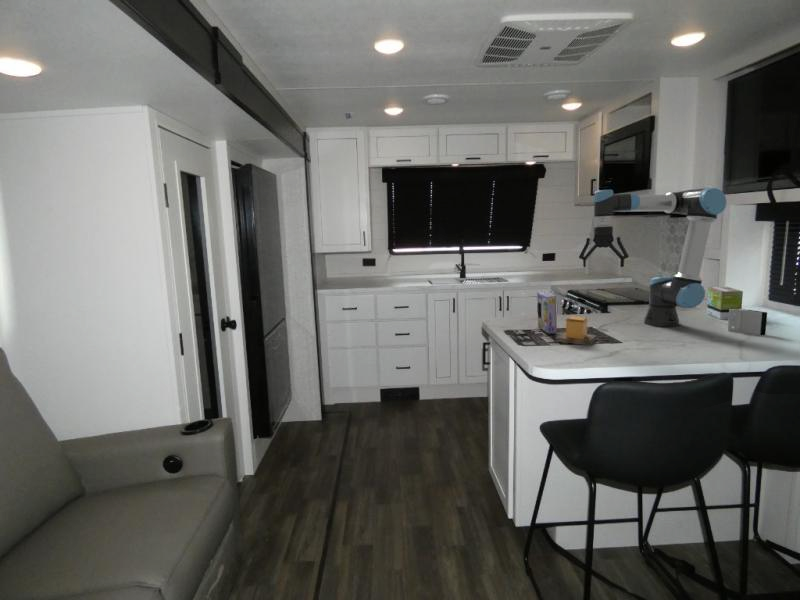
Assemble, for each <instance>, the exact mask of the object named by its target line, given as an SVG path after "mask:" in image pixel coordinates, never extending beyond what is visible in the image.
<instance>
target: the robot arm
mask: <svg viewBox="0 0 800 600" xmlns="http://www.w3.org/2000/svg"><path fill="white" fill-rule="evenodd" d="M593 198H594V199H593V203H594V204H593V207H594V212H593V213H594V214H593V215H594V216H593V218H594V219H593V221H594V224H593V225H594V226H595V227H594V229H593V230H594V231H593V234H594V235H593V237H587V238H586V242H585V244H584V246H583V248H582V250H581V252H580V254H579V256H578V259H580V260H583V262H582V264H583V266H582V267H583V268H585V276H587V275H588V276H589V275H590V266H589V265H590V262H589V261H590V260H589V259H588V258H589V257H590V256H591V254H593V252H594V251H595V250H596V249H597V248H599V249H601V248H602V249H603V248H604V249H606V248H607V249H608V248H610V249H611V250H612V251H613V252H614V254H615V255H616V256H617V258H619V259H618V262H617V263H618V273H617V275H618V276H621V275H622V268H624V267H625V260H626V259H628V258H629V257H630V256H629V254H628V252H627V250H626V248H625V246H624V244H623V242H622V237H621V236H617V237H614V227H613V225H614V216H613V215H614V213H616V212H620V213H621V212H664V213H666V214H677V215H685V216H686V219H687V220H688V221H689V222H688V226H687V231H686V236H685V239H684V244H683V248H682V252H681V257H680V261H679V267H678V271H677V272H676V273H675V274H674V275H673V276H666V277H665V276H663V277H652V278H651V279H650V282H649V298H648V299H649V303H648V309H647V312H646V314H645V316H644V321H643V322H644V324H646V325H650V326H656V327H677V326H679V325H680V318H679V315H678V312H677V307H679V308H683V309H695V308H696V307H697V306H700V305H701V304H702V303H703V301H704V300H705V299H704V298H705V295H706V290H705V288H704V286H703V285H702V281H703V279H702V278H701V277H700V274H701V270H702V267H703V261H704V257H705V252H706V249H707V248H706V247H707V244H708V239H709V235H710V230H711V226H712V224H713V223H714V222H715V221H717V218H718V215H720V214H721V213H722V212H724V210H725V209H726V208H727V197H726V195H725V194H724V191H722V190H721V189H720V188H717V187H703V188H697V189H695V188H694V189H687V190H681V191H677V192H667V193H666V194H637V192H636V193H634V192H632V193H631V192H629V193H627V192H626V193H615V194H614V190H613V189H602V190H596V191H595V192H594V197H593ZM614 241H615V243H617V244H618V247H619V248H620V250H621V252H622V253H621V252H620V251H619V250H618V248H616V246H615V245H614V244H613V242H614ZM591 243H594V245H593V246H592V248H590V250H589V251H588V252H587V250H588V249H589V246H590V245H591ZM586 252H587V253H586Z"/></svg>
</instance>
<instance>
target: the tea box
mask: <svg viewBox="0 0 800 600" xmlns="http://www.w3.org/2000/svg"><path fill="white" fill-rule="evenodd" d="M743 294H744V292H743V290H739V289H736V288H733V287H730V286H713V287H709V286H708V289H707V303H706V304H707V305H706V306H707V308H706V314H707V315H709V316H711V317H714V318H716V319H719V320H729V309H736V310H739V309H743V308H742V307H743V305H742V304H743ZM733 315H735V313H733Z"/></svg>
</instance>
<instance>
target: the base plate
mask: <svg viewBox="0 0 800 600" xmlns="http://www.w3.org/2000/svg"><path fill="white" fill-rule="evenodd" d="M595 340H596V341H597V334H588V333H587V336H586V337H584V338H583V339H579V338H569V337H566V331H563V332H562V333H560V334H559V335H558V336H555V342H556V343H559V342H562V343H561V344H568V343H573V344H572V345H578V344H583V345H582V346H587V345H590V346H591V345H592V344H594V343H595V342H596V341H595ZM594 341H595V342H594Z"/></svg>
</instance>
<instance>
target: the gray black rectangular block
mask: <svg viewBox="0 0 800 600" xmlns="http://www.w3.org/2000/svg"><path fill="white" fill-rule="evenodd" d="M733 313H735V315H733ZM727 320H728V321H727V322H728V323H727V332H733V333H734V332H735V333H737V332H738V333H745V334H748V335H754V334H755V336H762V335H763V336H766V331H767V320H768V312H767V311H761V310H754V309H744V308H742V309H739V310H736V309H729V319H727Z"/></svg>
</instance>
